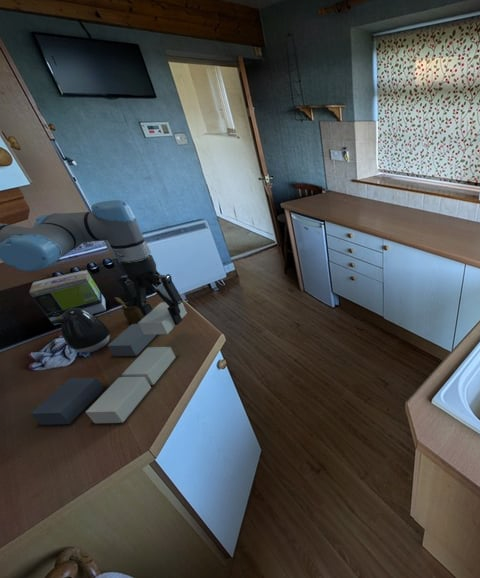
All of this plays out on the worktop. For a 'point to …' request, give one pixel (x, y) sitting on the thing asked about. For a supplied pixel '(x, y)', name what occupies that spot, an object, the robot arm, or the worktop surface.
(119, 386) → the white book
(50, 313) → the tea box
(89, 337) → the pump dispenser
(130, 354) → the grey book
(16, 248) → the robot arm
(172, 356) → the white book
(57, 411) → the grey book
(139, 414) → the worktop surface
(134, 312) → the utensil holder
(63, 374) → the worktop surface
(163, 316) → the white book
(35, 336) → the worktop surface
